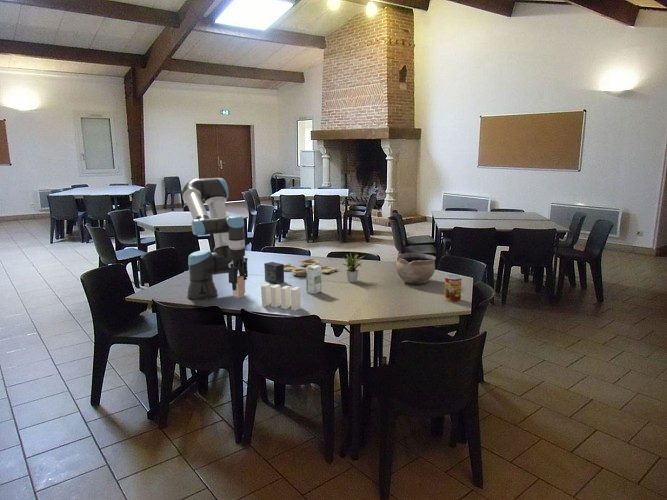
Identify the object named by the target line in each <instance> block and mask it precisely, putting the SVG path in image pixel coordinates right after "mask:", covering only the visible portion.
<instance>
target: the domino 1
mask: <svg viewBox="0 0 667 500" xmlns="http://www.w3.org/2000/svg"><path fill="white" fill-rule="evenodd" d="M237 283H238V295H239V296H238V297H237V296H233V298H234V299H240V298H242V297H245V293H244V277H243V276H240V275H237Z"/></svg>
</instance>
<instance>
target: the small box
mask: <svg viewBox="0 0 667 500" xmlns="http://www.w3.org/2000/svg"><path fill="white" fill-rule="evenodd" d="M263 265H264V281H265V282H267V283H270V284H271V283H272V284H274V285H278V284H280V283H284V282H285V271H284V265H285V264H284V263H279V262H274V261H269V262H265V263H264V264H263Z"/></svg>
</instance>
